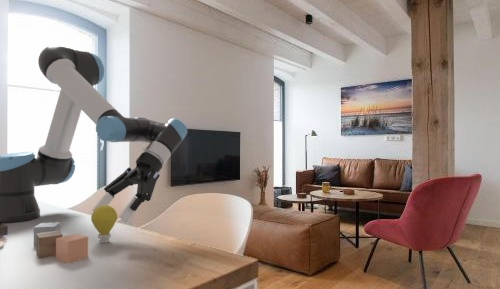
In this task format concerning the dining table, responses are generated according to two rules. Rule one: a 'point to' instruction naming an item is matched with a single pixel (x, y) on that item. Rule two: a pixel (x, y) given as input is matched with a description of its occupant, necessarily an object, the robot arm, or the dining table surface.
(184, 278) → the dining table surface
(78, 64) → the robot arm
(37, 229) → the slate grey block
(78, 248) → the terracotta block
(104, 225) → the light bulb
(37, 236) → the walnut block
